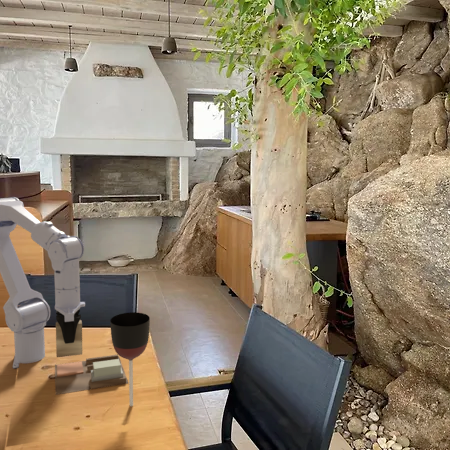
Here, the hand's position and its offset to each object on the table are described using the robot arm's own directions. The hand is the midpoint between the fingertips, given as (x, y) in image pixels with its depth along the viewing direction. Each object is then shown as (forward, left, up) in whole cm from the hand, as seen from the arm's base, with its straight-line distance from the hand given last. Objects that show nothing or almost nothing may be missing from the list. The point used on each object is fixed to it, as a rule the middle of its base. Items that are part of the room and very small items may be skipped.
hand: (69, 340), depth 111 cm
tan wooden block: (0, 0, -3) cm, 3 cm away
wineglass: (+22, +11, -9) cm, 26 cm away
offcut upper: (+9, +8, -6) cm, 13 cm away
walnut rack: (+4, +4, -8) cm, 10 cm away
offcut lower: (+9, +8, -8) cm, 14 cm away
